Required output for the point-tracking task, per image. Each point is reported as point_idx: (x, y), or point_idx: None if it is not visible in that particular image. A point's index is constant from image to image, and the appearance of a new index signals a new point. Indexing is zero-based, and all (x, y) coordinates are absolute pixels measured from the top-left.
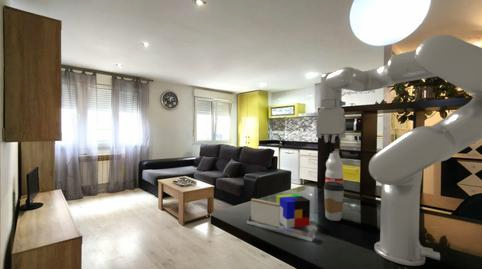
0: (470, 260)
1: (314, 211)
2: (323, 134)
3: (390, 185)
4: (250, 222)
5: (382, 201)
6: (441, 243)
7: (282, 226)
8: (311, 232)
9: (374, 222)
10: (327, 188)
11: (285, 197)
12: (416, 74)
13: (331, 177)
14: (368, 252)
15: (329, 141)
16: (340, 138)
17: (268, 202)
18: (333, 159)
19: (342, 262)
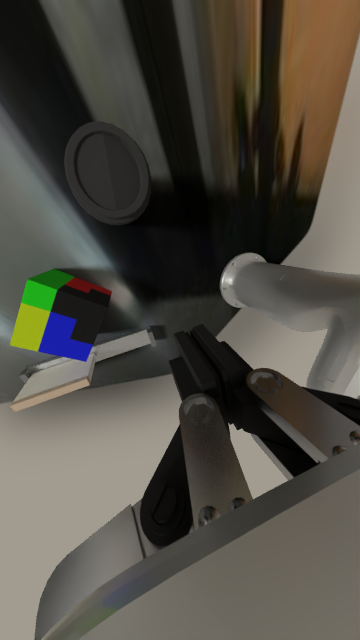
0: (307, 223)
1: (45, 185)
2: (124, 578)
3: (318, 326)
4: None
5: (278, 319)
6: (290, 181)
7: (96, 348)
8: (155, 345)
9: (193, 147)
10: (107, 221)
11: (48, 339)
12: None
13: None
14: (216, 305)
15: (227, 423)
16: (357, 401)
17: (63, 393)
18: None
19: None
